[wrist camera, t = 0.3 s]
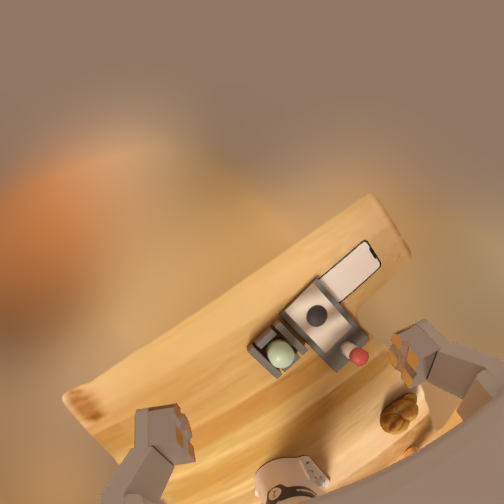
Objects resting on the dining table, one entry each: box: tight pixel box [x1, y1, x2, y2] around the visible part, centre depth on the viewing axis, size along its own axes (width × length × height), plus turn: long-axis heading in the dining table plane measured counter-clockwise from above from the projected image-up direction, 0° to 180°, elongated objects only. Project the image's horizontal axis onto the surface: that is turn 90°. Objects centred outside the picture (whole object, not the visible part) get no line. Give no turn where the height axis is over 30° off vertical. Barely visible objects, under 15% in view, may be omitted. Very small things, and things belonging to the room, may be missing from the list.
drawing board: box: [279, 278, 369, 373], centre depth 65 cm, size 20×11×1 cm, turn 43°
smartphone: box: [318, 240, 381, 304], centre depth 66 cm, size 8×1×16 cm
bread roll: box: [380, 393, 418, 435], centre depth 64 cm, size 13×10×8 cm
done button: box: [266, 339, 295, 368], centre depth 59 cm, size 5×5×4 cm
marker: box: [340, 341, 369, 366], centre depth 61 cm, size 3×3×8 cm
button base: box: [247, 319, 308, 378], centre depth 62 cm, size 9×9×3 cm
